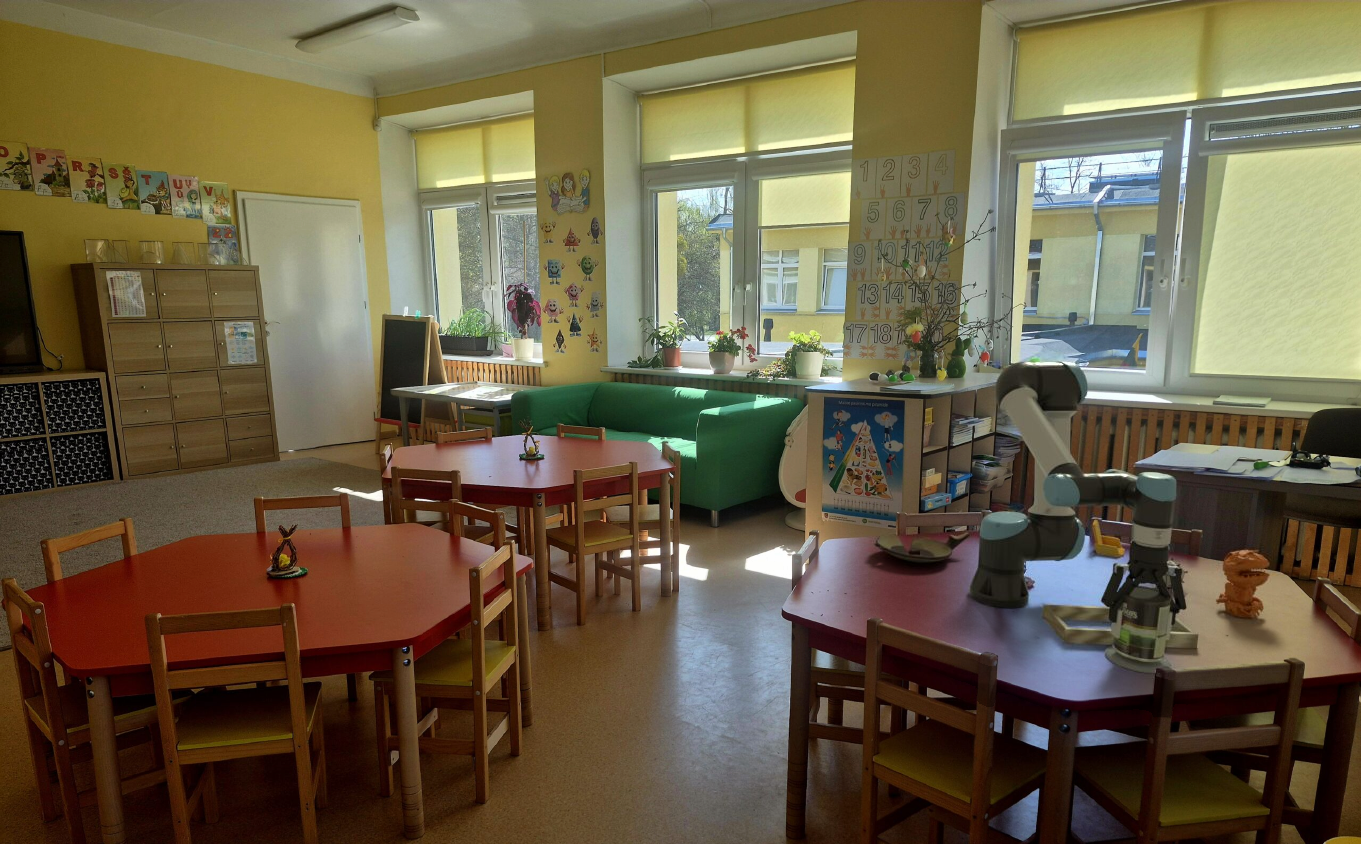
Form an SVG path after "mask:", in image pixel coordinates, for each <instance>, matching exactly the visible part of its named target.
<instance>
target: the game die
mask: <svg viewBox="0 0 1361 844" xmlns="http://www.w3.org/2000/svg"><path fill="white" fill-rule="evenodd" d="M1167 565H1168V566H1172V565H1176V566H1177V567H1179V568H1181V569H1182V575H1181V582H1182V584H1184V583H1185V581H1184V580H1183V579H1184V577H1185V574H1188V573H1189V571H1188V570H1186V571H1185V570H1184V569H1183V568H1182V567H1181V563H1178V564H1177V562H1175V561H1174V558H1173V557H1171V558H1170V560H1168V562H1167ZM1162 578H1163V580H1164V581H1165V583H1166V587H1167V588H1170V587H1171V588H1172V586H1171V581H1170V575H1169V574H1168V572H1167V573H1166V574H1165V575H1164V576H1163V577H1162Z"/></svg>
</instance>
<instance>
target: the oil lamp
mask: <svg viewBox="0 0 1361 844" xmlns="http://www.w3.org/2000/svg"><path fill="white" fill-rule="evenodd" d="M970 535H971V534H970V532H963V533H962V534H960V535H953V534H949V535H948V539H947V541H946V542H943V541H939V540H937V539H934V538H932V537H927V536H923V535H921V536H919V537H913V539H912V541H911V542H912V543H911V545H910V548H909V551H908V550H907V548H906V547H905V546H904V544H903V543H902V541H901V539H900V538H899V536H898V534H896V533H893V534H892V533H887V534H882V535H880V536H878V537H877V538H876V542H875V543H874V546H875V547H877V548H879V550H881V551H883V552H885V553H888V554H889V555H891V556H893V557H895V558H897V559H900V560H904V561H906V562H912V563H919V564H926V563H927V564H928V563H934V562H939V561H942V560H945V559H948V558H950V557H951V556H952V554H953V551H954V549H955V548H956V547H958V546H959V545H961V544H962V543H963V542H964V541H966V540H967V539H968V538H969V537H970ZM913 554H919V555H913Z"/></svg>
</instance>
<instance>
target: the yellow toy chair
mask: <svg viewBox="0 0 1361 844" xmlns="http://www.w3.org/2000/svg"><path fill="white" fill-rule="evenodd" d="M1092 531H1093V536H1094V541H1095V543H1093V546H1094V549H1095V552H1096V554H1097V555H1102V556H1108V557H1112V558H1114V557H1115V558H1121V557H1124V554H1125V552H1126V549H1125V548H1123V545H1122V542H1121V540H1120V538H1118V537H1113V536H1107V535H1102V533H1101V529H1100V523H1099V521H1098V520H1097V519H1094V520H1093V523H1092Z"/></svg>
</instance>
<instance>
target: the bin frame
mask: <svg viewBox="0 0 1361 844" xmlns="http://www.w3.org/2000/svg"><path fill="white" fill-rule="evenodd" d="M1041 608H1042V610H1041V611H1042V612H1041V618H1042V620H1044V622H1045V623H1046V624H1047V625H1048V626H1049V627H1050V628H1051V629H1052V630H1053V631H1054V633H1055V634H1056V635H1057V637H1059V638H1060V639H1061V640H1062V641H1063V643H1064V644H1081V645H1103V646H1107V645H1108V646H1110V645H1111V646H1113V642H1114V635H1112V634H1111V628H1110V629H1109V628H1087V627H1086V628H1085V627H1069V626H1068V625H1067V624H1066V623H1065V622H1064V621H1065V620H1067V621H1087V622H1088V621H1089V622H1090V621H1091V622H1095V621H1096V622H1111V621H1110V620H1109V607H1107V606H1098V605H1097V606H1095V605H1094V606H1092V605H1070V604H1069V605H1066V604H1065V605H1063V604H1042V607H1041ZM1199 636H1200V635H1199V634H1198V633H1197V632H1196V631H1194V630H1193V629H1192V628H1191V627H1189V625H1187V624H1185V623H1184V622H1183V621H1181V619H1179V618H1177V617H1176V619H1175V624H1174V625H1172V631H1171V632H1170V639H1169V640H1166V642H1165V648H1173V649H1175V648H1177V649H1178V648H1179V649H1198V641H1199Z"/></svg>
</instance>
